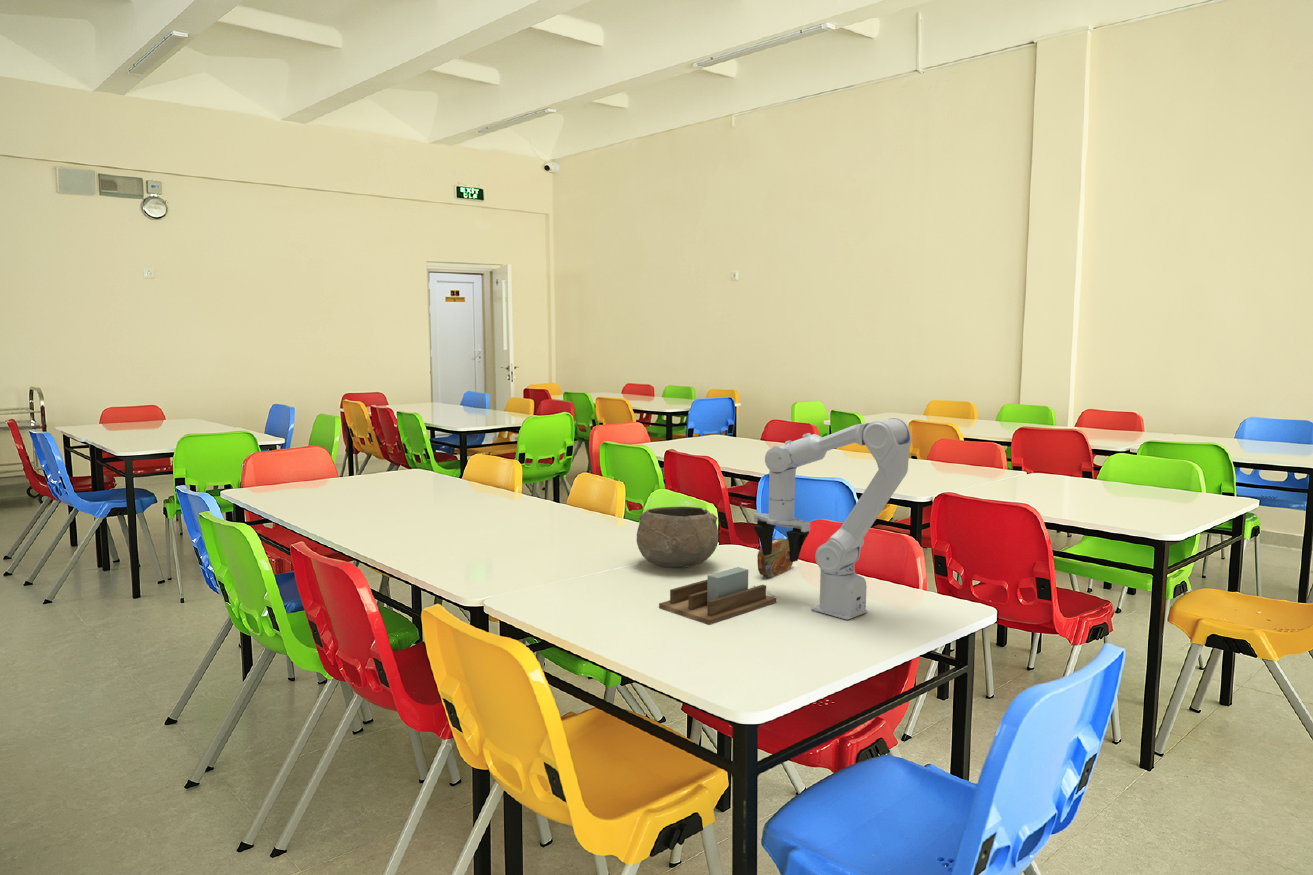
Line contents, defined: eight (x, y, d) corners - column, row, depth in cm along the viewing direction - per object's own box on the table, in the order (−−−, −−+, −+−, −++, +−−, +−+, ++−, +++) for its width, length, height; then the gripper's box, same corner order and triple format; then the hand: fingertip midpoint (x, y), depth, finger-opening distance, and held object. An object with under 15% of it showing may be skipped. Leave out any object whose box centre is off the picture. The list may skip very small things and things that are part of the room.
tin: (765, 581, 207) (766, 547, 206) (754, 578, 209) (755, 545, 208) (795, 568, 219) (795, 536, 218) (784, 566, 221) (784, 534, 220)
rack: (776, 602, 190) (776, 585, 190) (709, 624, 175) (709, 605, 174) (726, 588, 201) (726, 571, 200) (659, 607, 186) (659, 590, 185)
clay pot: (620, 565, 221) (620, 508, 219) (678, 552, 234) (678, 499, 233) (676, 583, 205) (676, 521, 203) (734, 567, 219) (735, 510, 217)
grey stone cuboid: (747, 600, 188) (748, 569, 187) (717, 610, 181) (717, 578, 180) (737, 597, 190) (738, 566, 189) (707, 606, 183) (707, 575, 183)
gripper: (745, 496, 193) (744, 554, 195) (796, 505, 183) (795, 567, 184) (765, 492, 198) (764, 549, 199) (816, 501, 187) (814, 561, 189)
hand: (780, 557), depth 192 cm, fingers open, 7 cm apart
